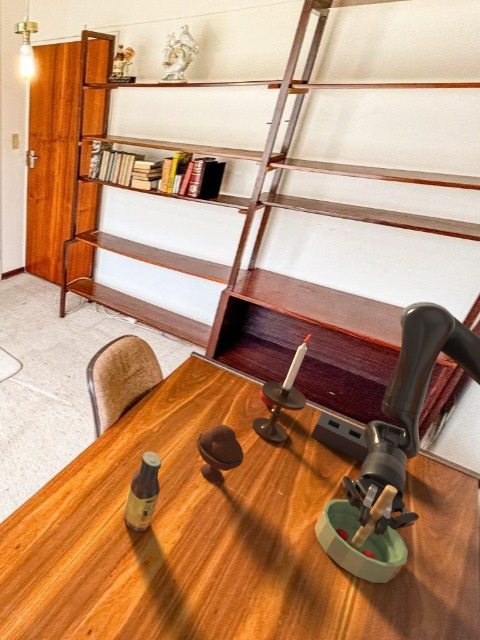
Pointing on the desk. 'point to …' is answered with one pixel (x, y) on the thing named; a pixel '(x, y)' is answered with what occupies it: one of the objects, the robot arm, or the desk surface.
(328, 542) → the bowl
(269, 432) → the candlestick
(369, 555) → the berry
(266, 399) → the onion
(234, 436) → the ice cream bowl
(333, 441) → the stand
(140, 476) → the sauce bottle
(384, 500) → the stirring stick
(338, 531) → the berry
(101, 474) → the desk surface
